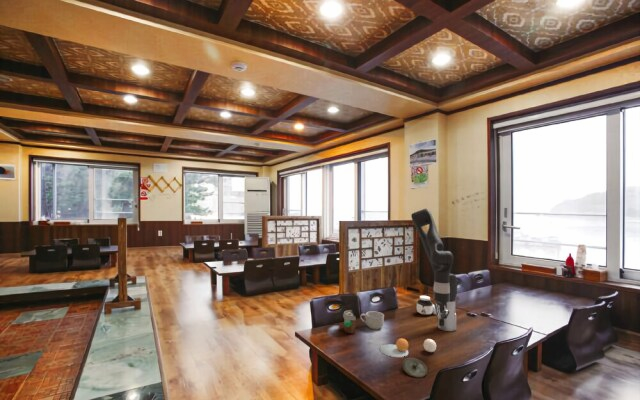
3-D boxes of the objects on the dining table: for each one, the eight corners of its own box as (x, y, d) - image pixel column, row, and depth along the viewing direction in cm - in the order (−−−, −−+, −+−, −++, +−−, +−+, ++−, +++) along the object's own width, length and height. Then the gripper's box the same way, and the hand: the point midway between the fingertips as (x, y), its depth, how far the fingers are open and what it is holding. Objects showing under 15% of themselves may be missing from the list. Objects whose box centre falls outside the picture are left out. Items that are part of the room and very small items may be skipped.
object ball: (398, 334, 160) (392, 344, 160) (401, 338, 154) (395, 349, 154) (408, 340, 160) (402, 350, 160) (412, 345, 154) (405, 356, 154)
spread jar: (414, 313, 215) (415, 296, 215) (423, 310, 223) (423, 293, 223) (431, 318, 206) (431, 300, 207) (439, 314, 214) (439, 297, 214)
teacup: (384, 325, 190) (385, 312, 190) (382, 332, 180) (382, 318, 180) (362, 322, 195) (362, 309, 195) (358, 328, 185) (358, 314, 185)
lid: (422, 366, 142) (422, 355, 142) (431, 378, 132) (431, 366, 132) (399, 366, 141) (399, 355, 142) (406, 378, 131) (406, 366, 132)
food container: (341, 326, 187) (341, 309, 187) (351, 326, 187) (351, 309, 188) (344, 335, 175) (345, 316, 175) (355, 334, 175) (355, 316, 175)
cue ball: (427, 334, 160) (419, 342, 160) (432, 339, 154) (424, 348, 154) (435, 342, 160) (427, 351, 160) (440, 348, 154) (432, 356, 154)
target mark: (403, 344, 164) (403, 344, 164) (412, 357, 150) (412, 357, 150) (377, 344, 163) (377, 344, 163) (383, 357, 149) (383, 356, 149)
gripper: (455, 294, 151) (454, 330, 151) (443, 287, 165) (443, 321, 164) (439, 294, 151) (439, 330, 151) (429, 287, 164) (428, 320, 164)
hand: (441, 325), depth 157 cm, fingers closed
